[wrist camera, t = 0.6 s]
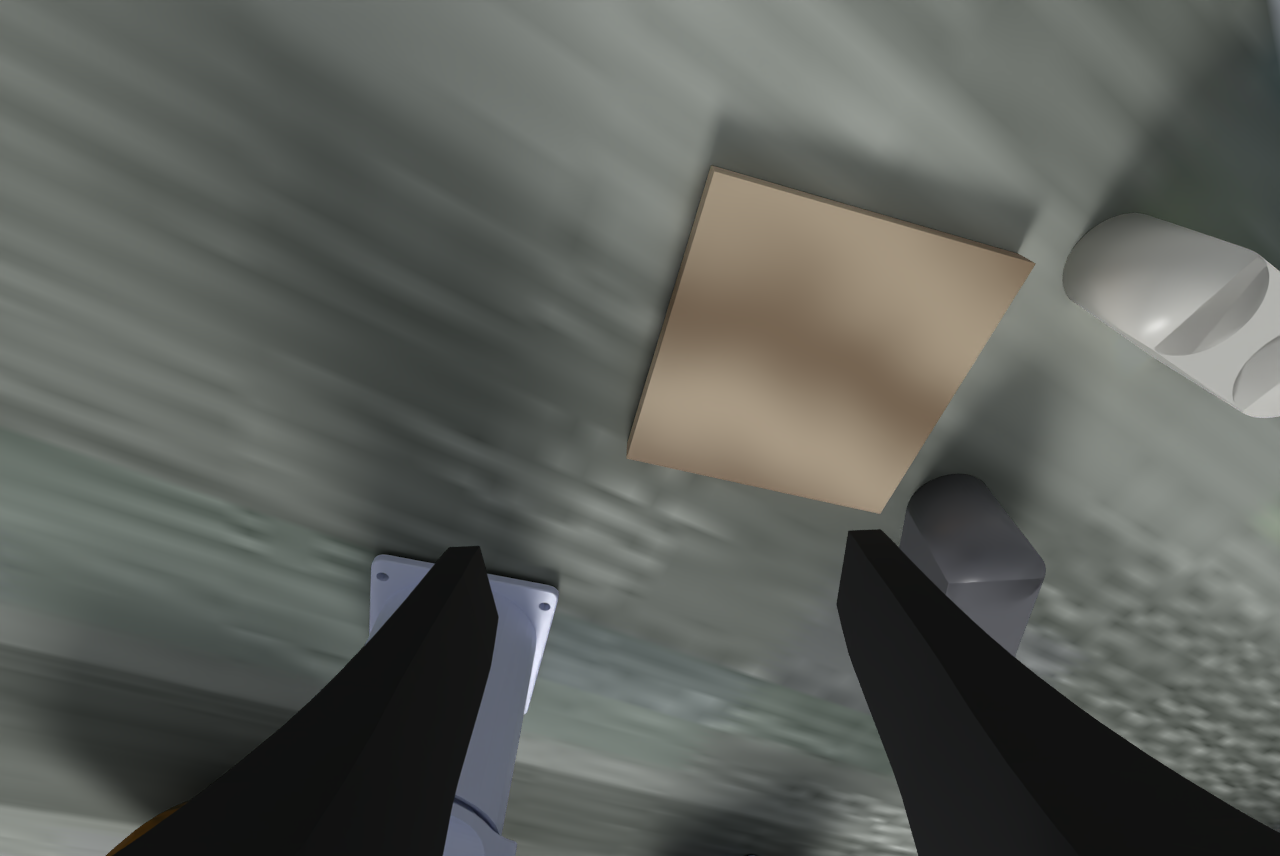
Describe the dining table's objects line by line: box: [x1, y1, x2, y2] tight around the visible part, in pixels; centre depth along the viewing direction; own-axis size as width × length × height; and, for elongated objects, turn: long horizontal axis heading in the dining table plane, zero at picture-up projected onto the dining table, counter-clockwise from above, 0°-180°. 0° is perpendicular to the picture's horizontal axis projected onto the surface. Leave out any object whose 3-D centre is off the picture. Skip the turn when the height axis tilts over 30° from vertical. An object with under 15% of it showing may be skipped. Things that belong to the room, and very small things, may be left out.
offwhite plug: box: [1062, 213, 1280, 418], centre depth 18 cm, size 9×3×4 cm, turn 60°
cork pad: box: [627, 165, 1035, 514], centre depth 20 cm, size 10×10×1 cm
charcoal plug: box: [899, 474, 1046, 657], centre depth 24 cm, size 10×3×4 cm, turn 5°
